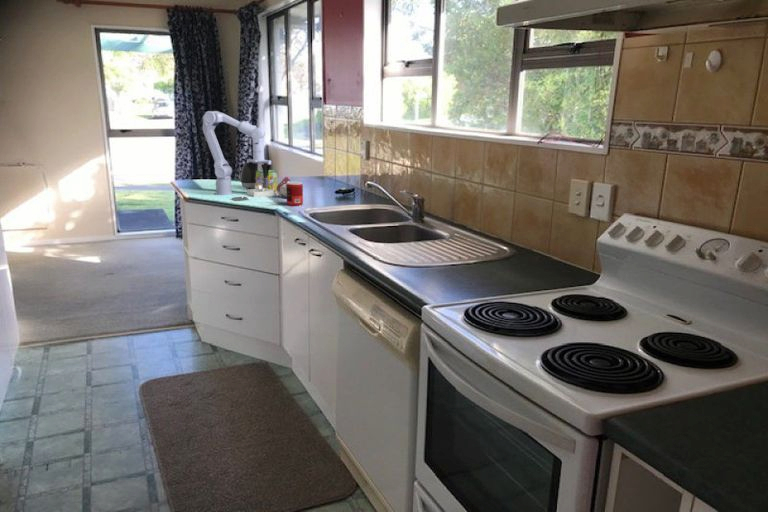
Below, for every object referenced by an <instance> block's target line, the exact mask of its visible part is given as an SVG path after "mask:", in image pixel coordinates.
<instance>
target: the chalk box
mask: <svg viewBox="0 0 768 512" xmlns="http://www.w3.org/2000/svg"><path fill="white" fill-rule="evenodd" d="M259 182H262V185H263V188H267V189H270V190H273V191H274V192H277V191H276V190H277V186H278V185H279V184H278V170H276V169H275V170H273V169H269V171H268V176H267V178H264V177H263V169H259V170H256V183H259Z"/></svg>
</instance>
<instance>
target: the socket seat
mask: <svg viewBox="0 0 768 512" xmlns="http://www.w3.org/2000/svg"><path fill="white" fill-rule="evenodd" d="M229 200H231V201H232V202H242V201H245V202H246V201H250V199H249V198H248V197H246V196H243V197H242V196H235V197H231V198H229Z"/></svg>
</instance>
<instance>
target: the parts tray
mask: <svg viewBox="0 0 768 512" xmlns="http://www.w3.org/2000/svg"><path fill="white" fill-rule="evenodd" d="M274 193H275V191H273V190H270V189H267V188H263V192H255V188H252V189H246V195H248V196H251V197H253V198H260V197H271V196H272V197H273V196H275V194H274Z"/></svg>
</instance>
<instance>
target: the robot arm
mask: <svg viewBox="0 0 768 512" xmlns="http://www.w3.org/2000/svg"><path fill="white" fill-rule="evenodd" d="M202 120H203V121H202V131H203V132H202V133H203V135H204V138H205V140H206V142H207V145H208V148H209V150H210V153H211V156H212V158H213V161H214V164H213V167H214V174H215V176H216V180H215V188H216V189H215V191H216V192H214V195H218V196H227V195H234V193H233V192H232V190H233V189H232V177H231V176H232V174H233V168H232V166H230V164H229V162H228V160H226V158H225V156H224V154H223V151H222V149H221V147H220V144H219V141H218V139H217V135H216V133H215V129H216V127H217V126H218V125H219V124H220V123H226V124H228V125H231V126H233V127H235V128H237V129H238V131H239V132H241V133H242V134H244V135H247V136H249V137H251V139H252V157H253V158H247V159H246V162H247V163H249V164H247V166H248V167H249V169H250V171H251V174H252V177H256V171H257V166H258V164H261V170H263V177H264V178H267V176H268V171H269V170H271V168H272V167H271V166H272V160H271V159H270V160H268V159H265V143H264V138H265V135H266V133H265V132H266V131H265V130H264V129H263V128H262V127H257V125H254V124H253V125H252V124H251V123H249V121H246V120H242V121H239V120H237V119H235V118H233V117H231V116H230V115H227V114H226V113H224V112H220V111H219V110H213V111H211V110H208V111H206V112H204V114H203V115H202Z"/></svg>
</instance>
